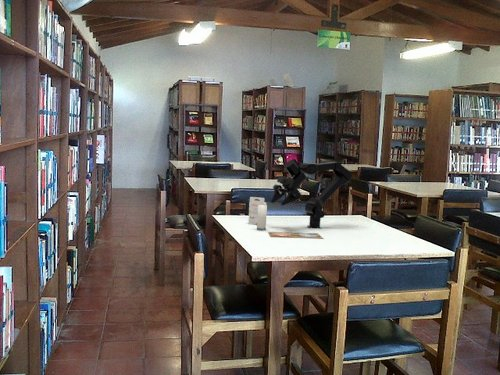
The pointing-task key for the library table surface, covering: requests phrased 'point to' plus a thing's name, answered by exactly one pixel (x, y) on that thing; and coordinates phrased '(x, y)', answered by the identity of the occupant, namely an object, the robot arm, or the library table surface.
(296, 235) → the walnut board
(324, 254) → the library table surface
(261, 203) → the ink cartridge box
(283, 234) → the terracotta coaster
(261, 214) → the frosted light bulb
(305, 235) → the grey coaster
